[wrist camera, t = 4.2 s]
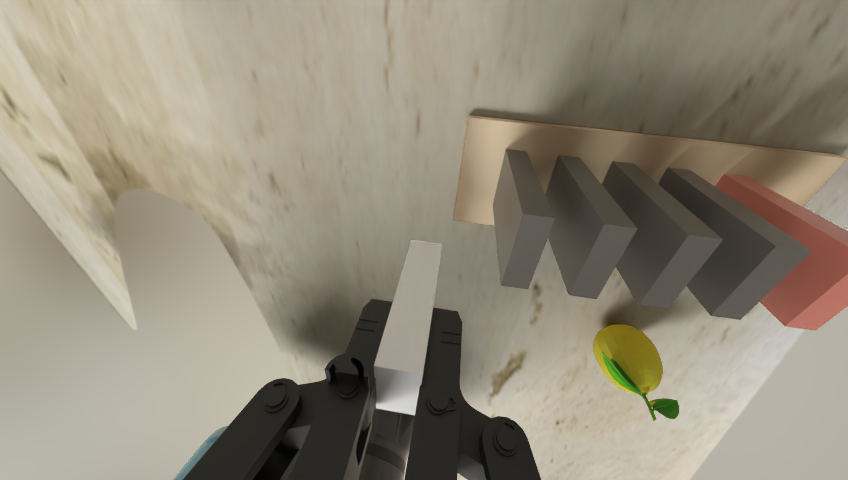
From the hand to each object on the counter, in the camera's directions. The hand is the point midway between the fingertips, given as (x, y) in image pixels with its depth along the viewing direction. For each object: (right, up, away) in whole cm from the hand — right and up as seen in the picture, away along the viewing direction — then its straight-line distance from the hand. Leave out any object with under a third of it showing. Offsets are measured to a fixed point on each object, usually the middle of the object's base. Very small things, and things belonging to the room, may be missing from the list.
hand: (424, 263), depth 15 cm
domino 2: (+11, +6, +10) cm, 16 cm away
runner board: (+16, +5, +10) cm, 19 cm away
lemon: (+21, -8, +19) cm, 30 cm away
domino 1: (+7, +6, +10) cm, 13 cm away
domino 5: (+23, +4, +9) cm, 25 cm away
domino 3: (+15, +5, +9) cm, 18 cm away
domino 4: (+19, +4, +9) cm, 21 cm away
